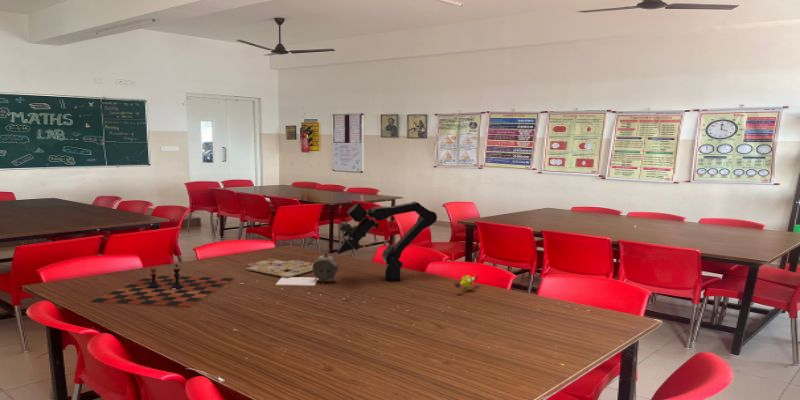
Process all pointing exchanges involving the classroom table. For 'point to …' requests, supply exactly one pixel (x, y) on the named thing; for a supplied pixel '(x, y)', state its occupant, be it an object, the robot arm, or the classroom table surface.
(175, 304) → the chessboard
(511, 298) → the classroom table surface
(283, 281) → the white sheet of paper
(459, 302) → the classroom table surface
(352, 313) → the classroom table surface
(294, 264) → the alphabet tiles
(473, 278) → the toy figure
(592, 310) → the classroom table surface
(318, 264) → the alarm clock
